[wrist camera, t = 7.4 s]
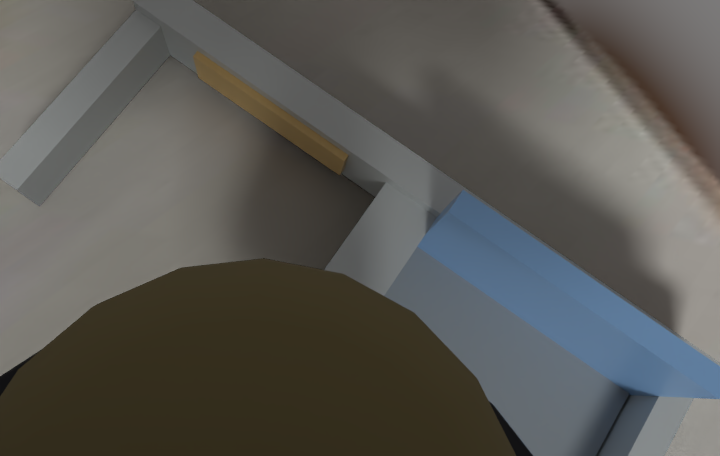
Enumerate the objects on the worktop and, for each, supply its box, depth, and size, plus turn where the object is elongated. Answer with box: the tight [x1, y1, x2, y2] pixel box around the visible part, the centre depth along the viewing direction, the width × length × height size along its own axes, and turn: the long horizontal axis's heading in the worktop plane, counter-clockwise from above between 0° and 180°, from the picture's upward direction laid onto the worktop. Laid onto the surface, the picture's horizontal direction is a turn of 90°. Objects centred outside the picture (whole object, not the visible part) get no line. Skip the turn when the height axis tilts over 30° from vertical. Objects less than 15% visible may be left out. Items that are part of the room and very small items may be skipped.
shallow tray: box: [0, 0, 720, 456], centre depth 21 cm, size 9×22×5 cm, turn 56°
